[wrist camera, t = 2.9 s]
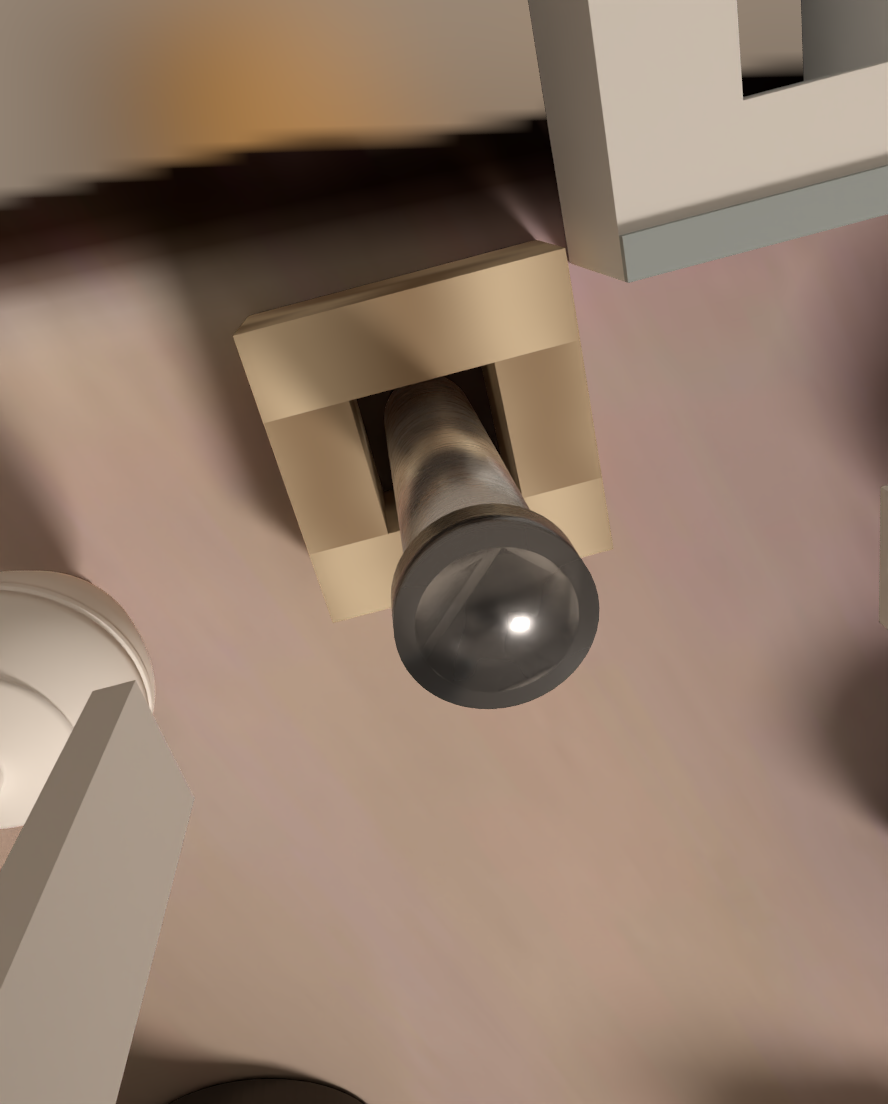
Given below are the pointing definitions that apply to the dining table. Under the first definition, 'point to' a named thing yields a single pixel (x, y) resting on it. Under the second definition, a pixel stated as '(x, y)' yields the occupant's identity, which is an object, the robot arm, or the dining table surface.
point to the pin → (477, 562)
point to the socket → (707, 130)
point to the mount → (414, 356)
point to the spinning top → (55, 673)
